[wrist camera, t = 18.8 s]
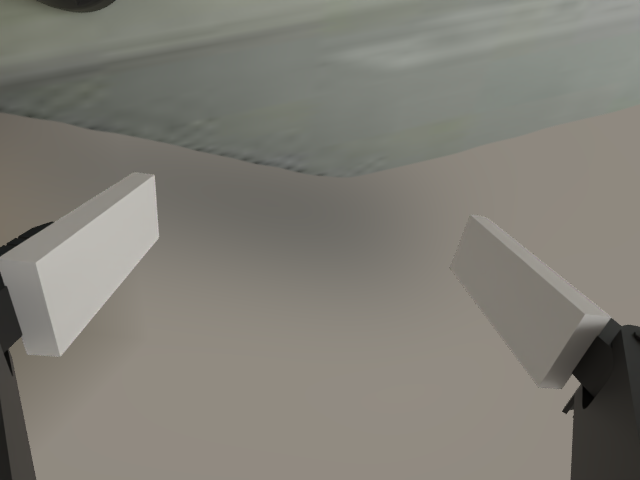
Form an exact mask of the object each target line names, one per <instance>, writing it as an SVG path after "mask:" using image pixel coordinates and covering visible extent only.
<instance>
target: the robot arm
mask: <svg viewBox="0 0 640 480" xmlns="http://www.w3.org/2000/svg"><path fill="white" fill-rule="evenodd" d="M37 1H39V2H41V3H43V4H46V5H48V6H51V7H55V8H59V9H63V10H67V11H72V12H92V11H97V10H100V9H102V8H105V7H107V6H108V5H110V4H111V3H113V2H114V1H115V0H37ZM158 238H159V230H158V216H157V202H156V188H155V176H154V175H153V174H145V173H137V172H133V173H132V174H130V175H129V176H127V177H125V178H124V179H122V180H121V181H119V182H118V183H116V184H115V185H113V186H111V187H110V188H108V189H107V190H105V191H103V192H102V193H100V194H98V195H97V196H95V197H94V198H92V199H91V200H89V201H87V202H86V203H84V204H83V205H81V206H79V207H78V208H76V209H75V210H73V211H72V212H70V213H68V214H67V215H65V216H64V217H62V218H60V219H59V220H57V221H56V222H49V223H46V224H43V225H40V226H37V227H35V228H32V229H30V230H28V231H27V232H25V233H23V234H22V235H20V236H19V237H18V238H15V239H13V240H12V241H10V242H8V243H7V245H6V246H5V245H3V246H2V247H0V480H36V476H35V471H34V466H33V461H32V456H31V451H30V446H29V441H28V436H27V431H26V426H25V421H24V416H23V411H22V406H21V401H20V396H19V391H18V386H17V381H16V376H15V371H14V366H13V361H12V357H11V354H10V351H9V348H10V347H11V346H12V345H13V344H14V343H15V342H16V341H17V340H18V339H19V338H20V337H22V340H23V343H24V346H25V349H26V352H27V354H28V355H43V356H44V355H45V356H59V357H60V356H61V355H62V354H63V353H64V352H65V350H66V349H67V348H68V347H69V346H70V344H71V343H72V342H73V340H74V339H75V338H76V337H77V336H78V335H79V334H80V332H81V331H82V330H83V329H84V327H85V326H86V325H87V324H88V323H89V321H90V320H91V319H92V318H93V317H94V315H95V314H96V313H97V312H98V311H99V309H100V308H101V307H102V306H103V305H104V303H105V302H106V300H108V299H109V297H110V296H111V295H112V293H113V292H114V291H115V290H116V289H117V287H118V286H119V285H120V284H121V283H122V281H123V280H124V279H125V278H126V277H127V275H128V274H129V273H130V272H131V271H132V270H133V268H134V267H135V266H136V265H137V263H138V262H139V261H140V260H141V259H142V257H143V256H144V255H145V254H146V252H147V251H148V250H149V249H150V248H151V247H152V245H153V244H154V243H155V242H156V241H157V239H158ZM450 269H451V271H452V272H453V273H454V275H455V276H456V277H457V279H458V280H459V281H460V283H461V284H462V286H463V287H464V288H465V290H466V291H467V292H468V293H469V295H470V296H471V298H472V299H473V300H474V302H475V303H476V304H477V305H478V307H479V308H480V310H481V311H482V312H483V314H484V315H485V316H486V318H487V319H488V320H489V322H490V323H491V325H492V326H493V327H494V328H495V330H496V331H497V333H498V334H499V335H500V337H501V338H502V339H503V341H504V342H505V343H506V345H507V346H508V347H509V349H510V350H511V351H512V353H513V354H514V355H515V357H516V358H517V359H518V361H519V362H520V363H521V365H522V366H523V367H524V369H525V370H526V371H527V373H528V374H529V375H530V377H531V378H532V380H533V381H534V382H535V384H536V385H537V386H538V388H554V389H562V388H563V387H564V385H565V383H566V382H567V381H568V379H569V378H570V376H571V375H572V374H573V375H574V376H575V377H576V378H577V379H578V380H579V382H580V383H581V385H580V386H579V388H578V389H577V390H576V392H575V393H574V395H573V396H572V398H571V399H570V400H569V402H568V403H567V404H566V406H565V407H564V409H563V411H562V412H564V413H566V414H567V412H568V411H569V410H573V409H574V416H573V418H574V420H573V441H572V463H571V480H640V327H638V326H633V325H624V326H621V325H619V324H618V323H617V322H616V321H614V320H613V319H612V318H611V316H610V315H608V314H607V313H606V312H605V311H604V310H602V309H601V308H600V307H599V306H597V305H596V304H595V303H594V302H592V301H591V300H590V299H588V298H587V297H586V296H585V295H584V294H582V293H581V292H580V291H578V290H577V289H576V288H575V287H574V286H572V285H571V284H570V283H569V282H567V281H566V280H565V279H564V278H562V277H561V276H560V275H559V274H557V273H556V272H555V271H554V270H552V269H551V268H550V267H549V266H547V265H546V264H545V263H544V262H542V261H541V260H540V259H539V258H537V257H536V256H535V255H534V254H532V253H531V252H530V251H529V250H527V249H526V248H525V247H524V246H522V245H521V244H520V243H519V242H517V241H516V240H515V239H514V238H512V237H511V236H510V235H508V234H507V233H506V232H505V231H504V230H502V229H501V228H500V227H499V226H497V225H496V224H495V223H494V222H492V221H491V220H490V219H489V218H487V217H485V216H477V215H470V216H469V219H468V222H467V224H466V227H465V229H464V232H463V234H462V237H461V240H460V242H459V245H458V248H457V250H456V253H455V255H454V258H453V261H452V263H451V266H450Z"/></svg>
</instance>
